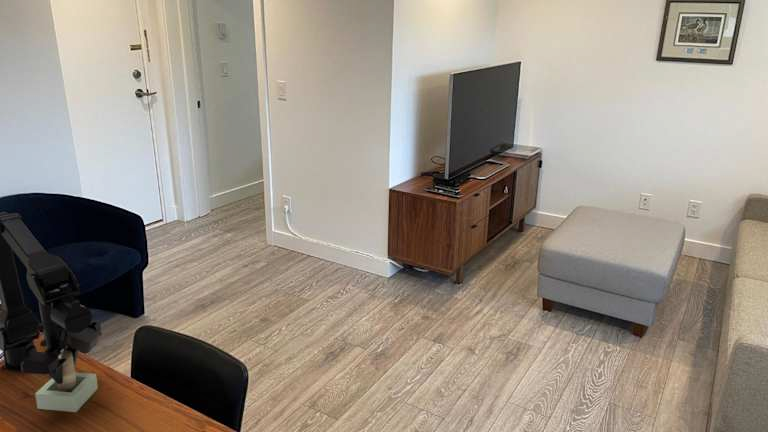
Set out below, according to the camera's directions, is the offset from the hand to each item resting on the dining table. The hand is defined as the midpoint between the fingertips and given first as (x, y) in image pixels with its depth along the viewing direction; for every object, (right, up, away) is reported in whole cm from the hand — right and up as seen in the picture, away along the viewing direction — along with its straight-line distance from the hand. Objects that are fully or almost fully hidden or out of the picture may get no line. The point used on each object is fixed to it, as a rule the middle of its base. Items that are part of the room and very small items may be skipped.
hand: (65, 377), depth 133 cm
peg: (0, -3, +1) cm, 3 cm away
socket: (0, -5, +2) cm, 6 cm away
